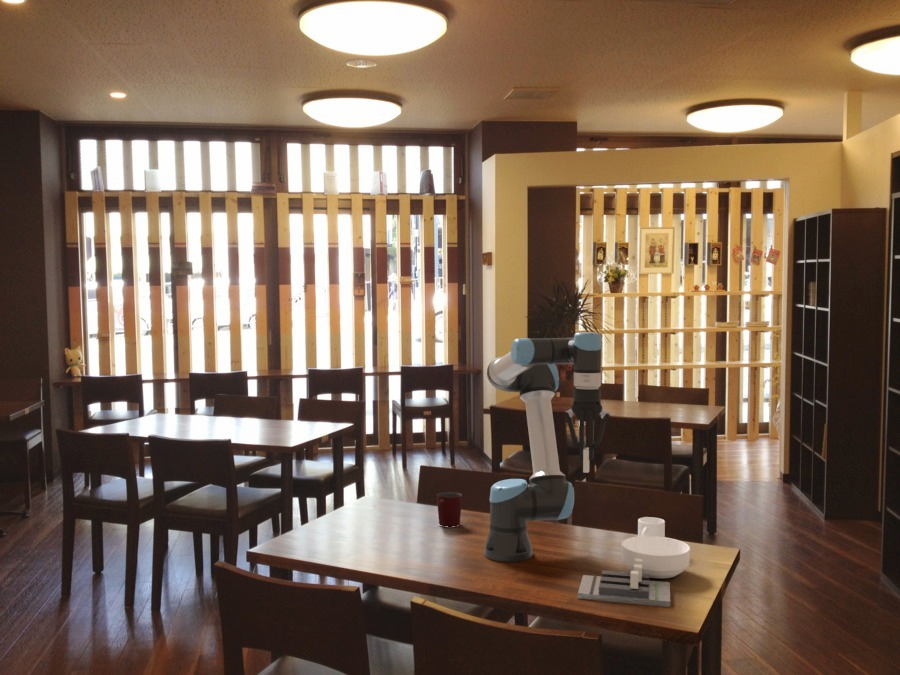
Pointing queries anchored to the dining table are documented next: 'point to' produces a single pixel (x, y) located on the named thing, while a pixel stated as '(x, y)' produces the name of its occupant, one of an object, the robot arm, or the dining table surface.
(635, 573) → the breaker near
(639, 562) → the breaker far
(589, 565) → the dining table surface
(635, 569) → the block
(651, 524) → the mug
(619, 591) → the panel
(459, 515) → the mug
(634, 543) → the bowl
